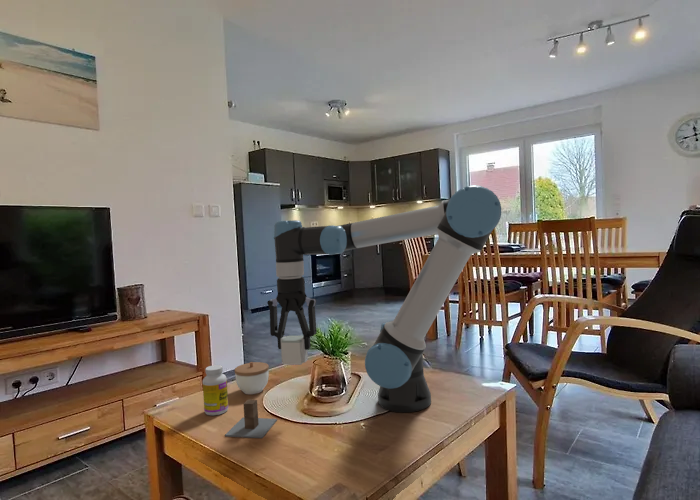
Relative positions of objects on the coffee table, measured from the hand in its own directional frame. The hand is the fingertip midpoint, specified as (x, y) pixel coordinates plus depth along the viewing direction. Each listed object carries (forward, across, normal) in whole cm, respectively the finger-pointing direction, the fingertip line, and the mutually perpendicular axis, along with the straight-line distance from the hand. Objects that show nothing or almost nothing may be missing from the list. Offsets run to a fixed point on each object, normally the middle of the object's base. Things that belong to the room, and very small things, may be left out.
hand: (294, 360), depth 119 cm
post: (+15, +9, +10) cm, 20 cm away
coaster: (+15, +9, +10) cm, 20 cm away
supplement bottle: (+15, +24, +1) cm, 29 cm away
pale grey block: (0, 0, 0) cm, 0 cm away
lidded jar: (+15, +20, -15) cm, 30 cm away
